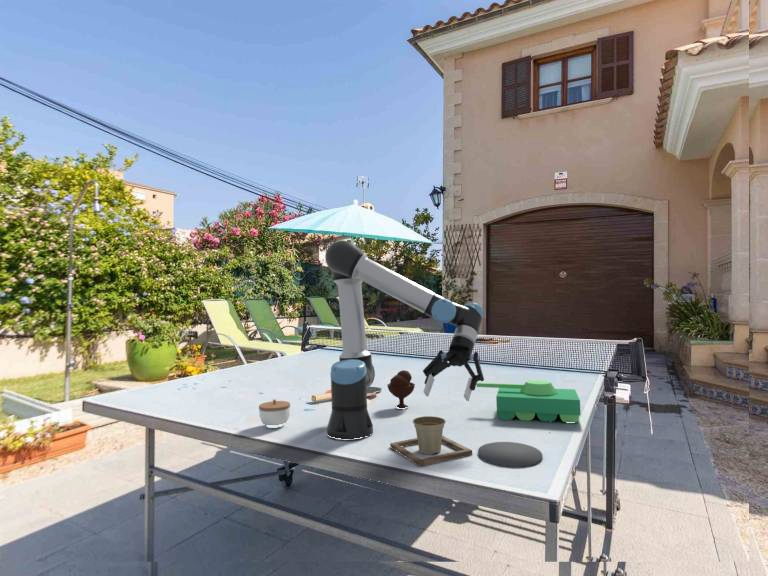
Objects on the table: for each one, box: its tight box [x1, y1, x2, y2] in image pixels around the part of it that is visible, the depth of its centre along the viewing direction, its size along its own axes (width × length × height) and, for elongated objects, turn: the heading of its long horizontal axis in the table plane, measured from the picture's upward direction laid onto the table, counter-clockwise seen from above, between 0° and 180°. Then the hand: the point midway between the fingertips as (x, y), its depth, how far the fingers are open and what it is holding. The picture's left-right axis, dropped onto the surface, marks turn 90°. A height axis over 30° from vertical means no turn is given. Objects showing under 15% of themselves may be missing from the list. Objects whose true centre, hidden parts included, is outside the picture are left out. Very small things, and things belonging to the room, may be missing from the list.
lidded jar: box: [258, 399, 291, 426], centre depth 153 cm, size 11×11×9 cm
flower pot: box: [412, 415, 447, 455], centre depth 124 cm, size 9×9×9 cm
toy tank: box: [476, 380, 581, 423], centre depth 158 cm, size 18×12×35 cm
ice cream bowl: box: [386, 369, 416, 408], centre depth 173 cm, size 11×11×15 cm
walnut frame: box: [389, 435, 473, 467], centre depth 124 cm, size 17×17×1 cm
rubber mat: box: [477, 441, 543, 468], centre depth 119 cm, size 17×17×1 cm
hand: (445, 396), depth 132 cm, fingers open, 13 cm apart
